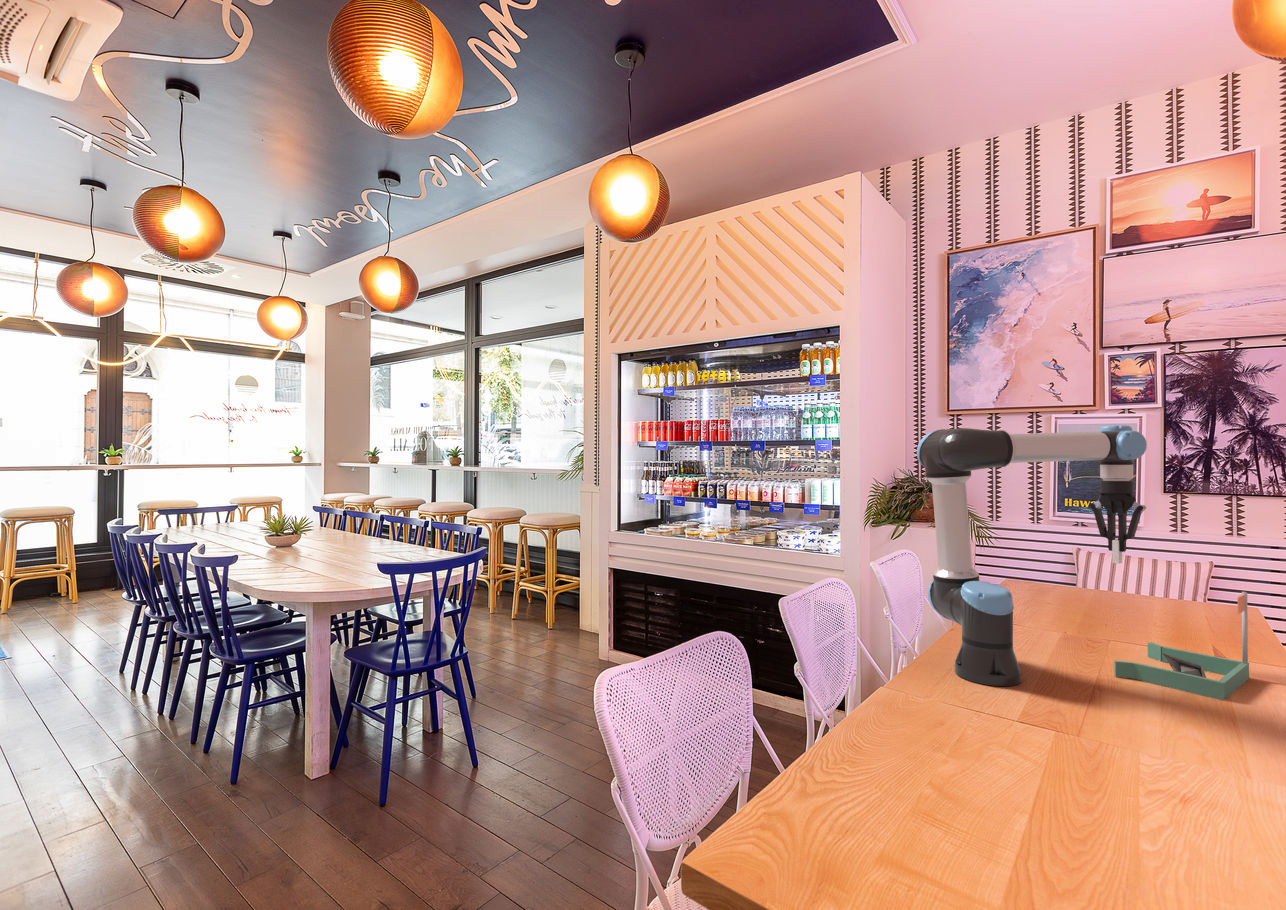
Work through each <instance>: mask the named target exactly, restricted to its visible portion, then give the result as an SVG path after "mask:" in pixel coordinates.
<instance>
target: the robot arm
mask: <svg viewBox="0 0 1286 910" xmlns="http://www.w3.org/2000/svg"><path fill="white" fill-rule="evenodd" d="M1147 445H1148V443H1147V439H1146V438H1145V436H1144V435H1143V434H1142V433H1141V432H1139V431H1136V430H1133V428H1132V427H1131V426H1130V425H1125V424H1124V425H1102V426H1101V427H1100V428H1099V431H1083V432H1082V431H1079V432H1078V431H1073V432H1071V431H1069V432H1040V433H1039V432H1036V433H1009V432H1008V431H1006V430H1003V429H1002V430H1000V429H999V430H996V429H995V430H990V429H978V428H967V427H963V428H962V427H960V428H946V429H945V428H944V429H943V428H941V429H937V430H934V431H930V432H928V433H926V434H925V435H924V436H923V437H922V438H921V439H920V441H918V444H917V448H916V456H917V457H916V458H917V460H918V462H919V464H920V465H921V466H922V467H923V468H924V473H925V479H926V480H927V481H928V482H929V483H931V487H932V499H933V500H932V502H933V512H934V513H933V514H934V527H935V536H936V537H935V538H936V542H935V543H936V553H937V565H938V566H937V568H936V569H935V570H934V571H933V572H932V575H933V576H932V577H933V580H931V583H930V584H929V585H928V588H927V600H928V602H929V605H930V606H931V608H932V609H933V610H934V611H935V612H936V613H937V614H939V615H940V616H941V617H943V618H945V619H947V620H948V621H951V622H954V623H956V624H958V625H960V626H961V645H960V648H959V650H958V652H957V655H956V658H955V662H954V673H955V675H957V676H958V677H960V678H962V679H964V680H967V681H970V682H974V683H977V684H981V685H986V686H994V687H995V686H996V687H1011V686H1016V685H1019V684H1020V683H1022V670H1021V668H1020V664H1019V663H1018V659H1017V656H1016V654H1015V651H1014V608H1015V607H1014V601H1013V595H1012V592H1011V591H1010V590H1009V589H1008V588H1006V587H1004V586H1003V585H1000V584H998V583H991V582H989V581H982V580H980V574H979V572H978V571H977V570H975V568H974V567H973V562H972V561H973V560H972V547H971V534H970V533H971V532H970V522H969V521H970V519H969V509H968V495H967V494H968V493H967V482H968V480H969V479H970V478H971V477H972V471H977V470H984V469H990V468H993V469H994V468H1005V467H1007V466H1009V465H1010V464H1011V463H1013V464H1015V463H1043V462H1044V463H1046V462H1048V463H1049V462H1075V461H1076V462H1077V461H1080V462H1081V461H1099V475H1100V476H1099V478H1100V479H1102V480H1100V481H1099V482H1100V483H1099V484H1100V485H1099V486H1100V487H1099V492H1100V493H1099V497H1098V498H1097V499H1098V500H1096V501H1094V502H1091V503H1089V504H1088V506H1089V508H1090V509H1091V510H1092V511H1093V515H1094V518H1095V521H1096V526H1097V528H1098V532H1099V535H1100V537H1102V538H1106V539H1107V544H1108V545H1107V546H1108V547H1107V549H1108V551H1110V552H1111V553H1112V554H1111V556H1112V564H1117V565H1119V564H1122V563H1123V553H1124V552H1125V553H1126V551H1127V541H1128V540H1130V539H1134V538H1135V537H1136V533H1137V530H1138V526H1139V522H1140V520H1141V516H1142V513H1143V512H1144V511H1145V510H1146V509H1147V507H1146V505H1144V504H1143V505H1142V504H1141V503H1139V502H1136V501H1137V500H1136V498H1135V495H1134V494H1135V493H1134V492H1135V491H1134V489H1135V487H1134V482H1133V481H1132V480H1133V478H1134V460H1137V459H1139V458H1142V456H1143V455H1144V454H1145V453H1146V451H1147V449H1148V447H1147ZM1102 507H1103V508H1104V509H1105V511H1106V516H1107V517H1106V518H1107V522H1106V521H1105V518H1104V514H1103V511H1102V509H1101V508H1102ZM1132 507H1133V508H1132ZM1131 508H1132V510H1133V513H1132V514H1131V515H1132V516H1131V519H1130V522H1129V525H1128V527H1127V516H1128V511H1130V509H1131ZM1116 516H1117V517H1116ZM1116 518H1117V521H1118V522H1117V521H1116ZM1116 522H1117V523H1118V527H1117V525H1116ZM1106 523H1107V524H1106ZM1116 527H1117V529H1116ZM1127 528H1128V529H1127ZM1116 530H1118V531H1116ZM1116 532H1118V534H1117V533H1116ZM1116 534H1117V535H1118V538H1117V535H1116Z"/></svg>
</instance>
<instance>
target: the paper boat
mask: <svg viewBox="0 0 1286 910" xmlns="http://www.w3.org/2000/svg"><path fill="white" fill-rule="evenodd" d="M1163 655H1164V656H1165V658H1166V659H1167V661H1168V663H1167V664H1168V665H1169V666H1170V667H1171V669H1172V671H1176V672H1181V673H1186V674H1190V675H1195V676H1199V677H1204V678H1207V675H1206V673H1205V672H1206V671H1204V670H1203V667H1202V666H1200V665H1197V664H1194V663H1191V662H1188V661H1185V660H1182V659H1179V658H1176V657H1173V656H1170V655H1167V654H1164V653H1163Z"/></svg>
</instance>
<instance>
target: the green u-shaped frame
mask: <svg viewBox="0 0 1286 910" xmlns="http://www.w3.org/2000/svg"><path fill="white" fill-rule="evenodd" d="M1237 614H1238V615H1239V614H1241V637H1242V638H1241V646H1242V647H1241V648H1242V649H1241V650H1242V651H1241V654H1242V655H1241V658H1242V660H1241V661H1239V660H1235V659H1229V658H1226V657H1225V658H1224V657H1221V656H1220V657H1219V656H1216V655H1215V656H1213V655H1209V654H1204V653H1199V652H1193V651H1189V650H1185V649H1179V648H1173V647H1168V646H1164V645H1161V644H1159V643H1154V642H1147V657H1148V656H1149V657H1148V658H1150V657H1151V658H1150V659H1153V658H1154V659H1153V660H1156V659H1157V660H1156V661H1158V660H1160V661H1159V662H1162V661H1163V662H1162V663H1166V662H1168V661H1167V659H1166V658H1165V656H1164V655H1163V653H1164V654H1167V655H1170V656H1173V657H1176V658H1179V659H1182V660H1185V661H1188V662H1191V663H1194V664H1197V665H1200V666H1202V667H1203V670H1206V671H1205V672H1208V671H1210V672H1209V673H1213V672H1215V674H1218V673H1220V674H1219V675H1223V674H1224V675H1223V677H1221V678H1220V679H1219V680H1218V679H1212V678H1208V677H1206V678H1204V677H1199V676H1195V675H1190V674H1186V673H1181V672H1176V671H1173V669H1172V670H1171V669H1167V668H1162V667H1157V666H1154V665H1153V666H1152V665H1148V664H1144V663H1140V662H1133V661H1125V660H1115V659H1114V660H1113V664H1114V665H1113V671H1114V672H1113V675H1114V677H1115V678H1119V677H1124V678H1123V679H1128V678H1132V679H1131V680H1135V679H1137V680H1136V681H1139V680H1142V681H1141V682H1144V681H1145V683H1148V682H1150V683H1149V684H1152V683H1154V684H1153V685H1156V684H1158V685H1157V686H1161V685H1162V686H1161V687H1165V686H1166V688H1169V687H1170V689H1173V688H1174V690H1177V689H1178V690H1179V691H1181V692H1186V691H1187V692H1186V693H1191V694H1194V693H1195V695H1199V696H1202V697H1207V698H1211V699H1216V700H1220V701H1226V699H1228V698H1229V697H1230V696H1231V695H1232V694H1234V692H1236V691H1237V690H1238V689H1239V688H1241V687H1242V686H1243V685H1244V684H1245V683H1246V682H1247V681H1248V680H1250V663H1249V655H1248V654H1249V652H1248V651H1249V648H1248V647H1249V646H1248V645H1249V643H1248V642H1249V641H1248V639H1249V638H1248V635H1249V633H1248V632H1249V631H1248V627H1249V626H1248V623H1249V622H1248V619H1249V618H1248V616H1249V615H1248V592H1247V591H1241V595H1239V596H1238V597H1237ZM1246 680H1247V681H1246ZM1245 681H1246V682H1245ZM1244 682H1245V683H1244ZM1243 683H1244V684H1243ZM1242 684H1243V685H1242ZM1235 690H1236V691H1235Z"/></svg>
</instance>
